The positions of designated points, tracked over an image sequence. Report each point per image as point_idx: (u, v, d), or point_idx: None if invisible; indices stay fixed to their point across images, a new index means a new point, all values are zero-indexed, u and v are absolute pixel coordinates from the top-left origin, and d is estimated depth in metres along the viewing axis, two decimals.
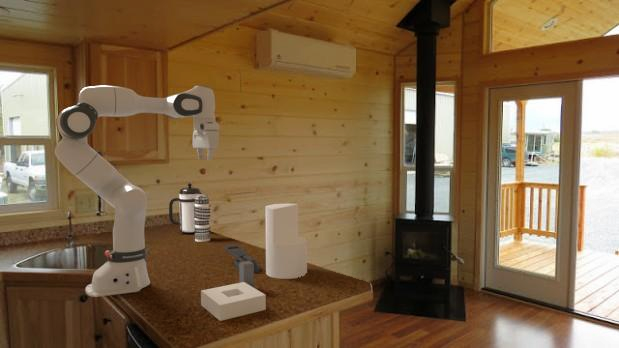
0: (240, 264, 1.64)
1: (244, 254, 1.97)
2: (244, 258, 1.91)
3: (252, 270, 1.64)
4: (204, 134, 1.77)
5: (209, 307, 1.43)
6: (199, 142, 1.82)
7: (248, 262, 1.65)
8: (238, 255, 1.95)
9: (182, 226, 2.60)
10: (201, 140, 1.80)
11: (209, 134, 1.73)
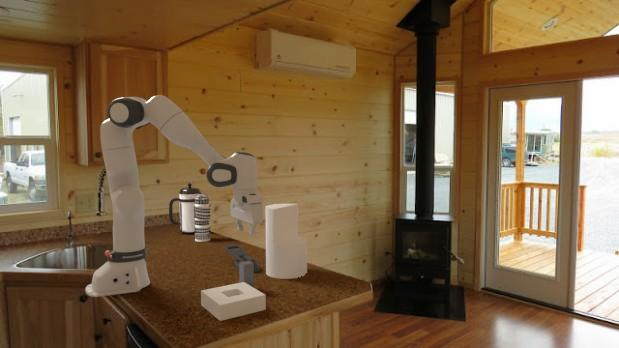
0: (240, 264, 1.64)
1: (244, 254, 1.97)
2: (244, 258, 1.91)
3: (252, 270, 1.64)
4: (246, 207, 1.58)
5: (209, 307, 1.43)
6: (240, 214, 1.63)
7: (248, 262, 1.65)
8: (238, 255, 1.95)
9: (182, 226, 2.60)
10: (242, 212, 1.61)
11: (253, 209, 1.54)
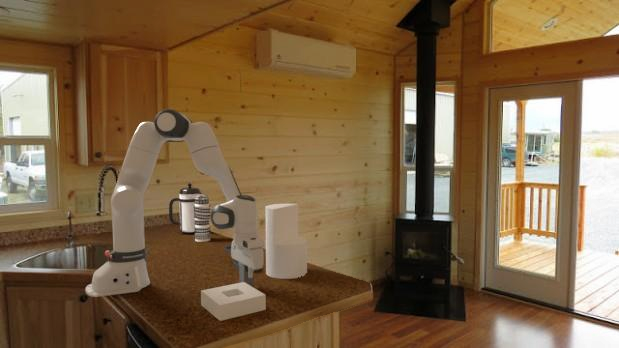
0: (240, 264, 1.64)
1: None
2: None
3: None
4: (247, 251, 1.59)
5: (209, 307, 1.43)
6: (241, 256, 1.64)
7: None
8: None
9: (182, 226, 2.60)
10: (243, 255, 1.62)
11: (253, 254, 1.55)
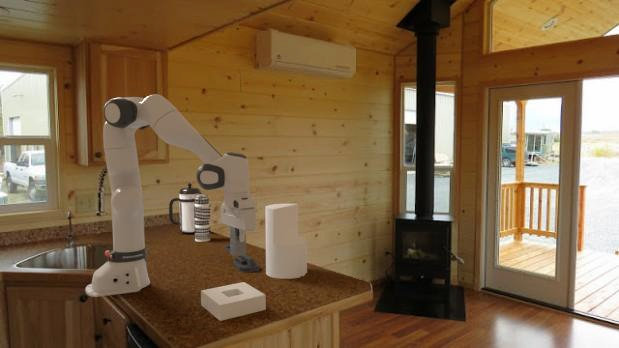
0: (231, 228, 1.51)
1: None
2: (243, 257, 1.92)
3: None
4: (238, 212, 1.46)
5: (209, 307, 1.43)
6: (231, 219, 1.51)
7: None
8: None
9: (182, 226, 2.60)
10: (234, 218, 1.49)
11: (245, 214, 1.42)
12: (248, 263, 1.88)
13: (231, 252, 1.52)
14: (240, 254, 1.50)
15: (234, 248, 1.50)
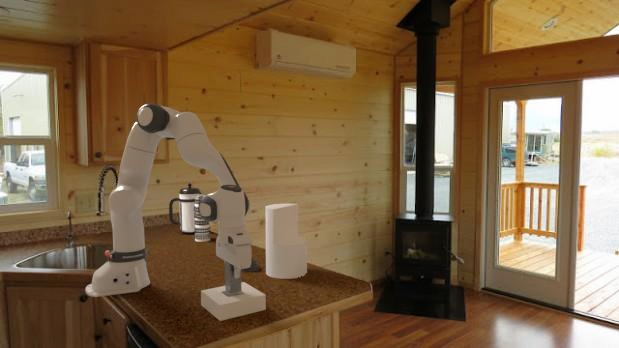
0: (226, 263, 1.46)
1: None
2: None
3: None
4: (233, 248, 1.41)
5: (209, 307, 1.43)
6: (226, 254, 1.45)
7: None
8: None
9: (182, 226, 2.60)
10: (228, 253, 1.44)
11: (240, 251, 1.37)
12: None
13: (226, 288, 1.47)
14: (235, 290, 1.45)
15: (229, 284, 1.44)
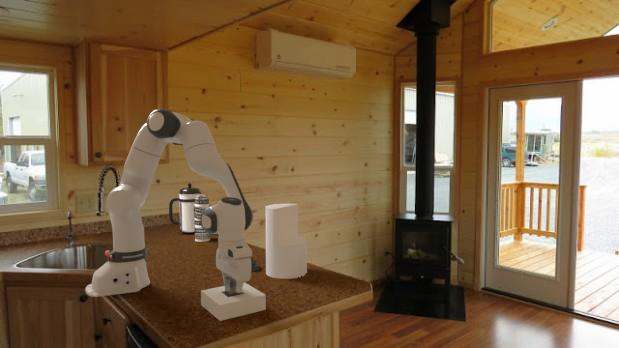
0: (226, 280, 1.46)
1: None
2: None
3: None
4: (232, 261, 1.41)
5: (209, 307, 1.43)
6: (226, 267, 1.46)
7: None
8: None
9: (182, 226, 2.60)
10: (228, 265, 1.44)
11: (240, 265, 1.37)
12: None
13: None
14: None
15: None
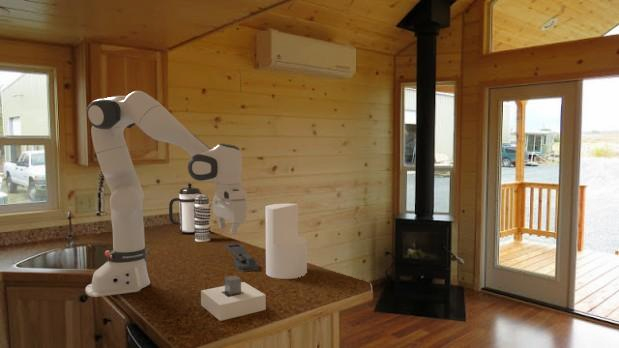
0: (226, 280, 1.46)
1: (243, 252, 2.00)
2: (243, 256, 1.94)
3: (239, 286, 1.46)
4: (228, 203, 1.46)
5: (209, 307, 1.43)
6: (222, 211, 1.51)
7: (235, 277, 1.47)
8: (237, 253, 1.98)
9: (182, 226, 2.60)
10: (224, 209, 1.49)
11: (235, 206, 1.42)
12: (247, 262, 1.89)
13: None
14: None
15: None
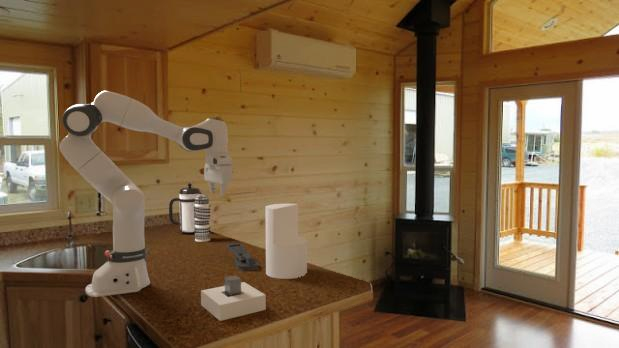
0: (226, 280, 1.46)
1: (244, 252, 2.00)
2: (243, 256, 1.95)
3: (239, 286, 1.46)
4: (217, 169, 1.71)
5: (209, 307, 1.43)
6: (212, 176, 1.76)
7: (235, 277, 1.47)
8: (238, 253, 1.99)
9: (182, 226, 2.60)
10: (214, 174, 1.74)
11: (222, 169, 1.67)
12: (247, 262, 1.90)
13: None
14: None
15: None
